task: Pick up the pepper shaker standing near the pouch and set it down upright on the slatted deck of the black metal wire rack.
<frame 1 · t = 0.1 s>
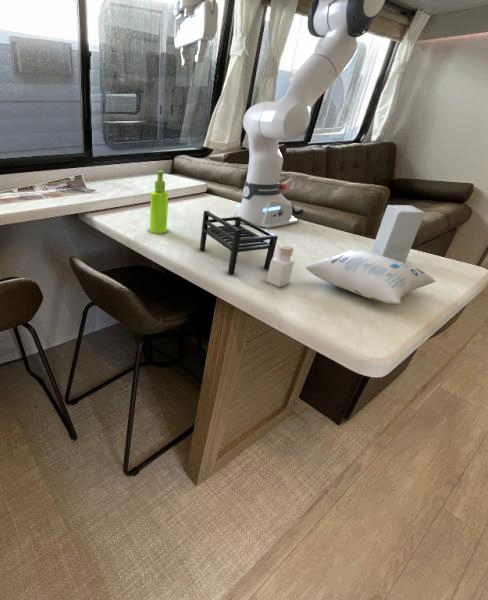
hand: (192, 65, 92), 48 cm above the table, tool pointing down, fingers open, 8 cm apart
pouch: (361, 289, 77), on the table
rack: (232, 259, 93), on the table
cosmetic box: (384, 261, 91), on the table
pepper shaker: (276, 283, 80), on the table
soap dispenser: (158, 230, 115), on the table
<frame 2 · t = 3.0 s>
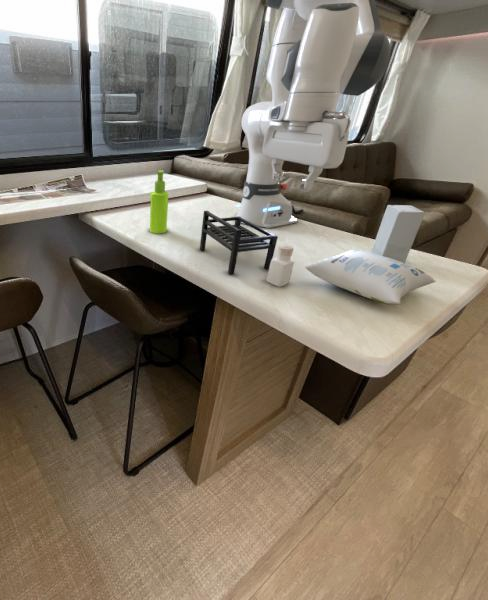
hand: (290, 184, 70), 23 cm above the table, tool pointing down, fingers open, 8 cm apart
nothing on the table moved.
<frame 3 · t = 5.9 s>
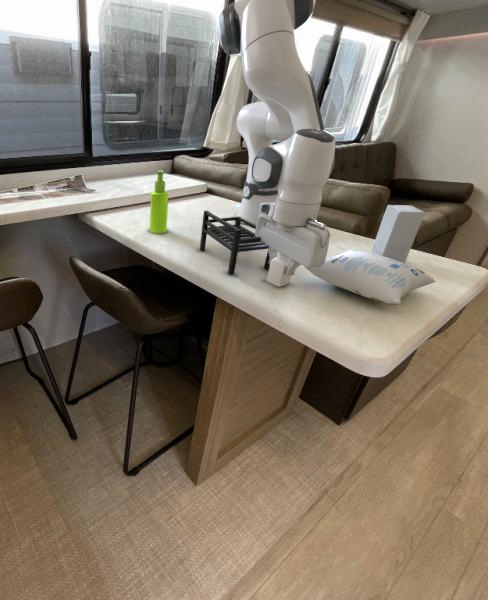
hand: (280, 269, 78), 4 cm above the table, tool pointing down, fingers closed on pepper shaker, 4 cm apart
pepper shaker: (276, 283, 80), on the table, touching gripper
everything else where it was.
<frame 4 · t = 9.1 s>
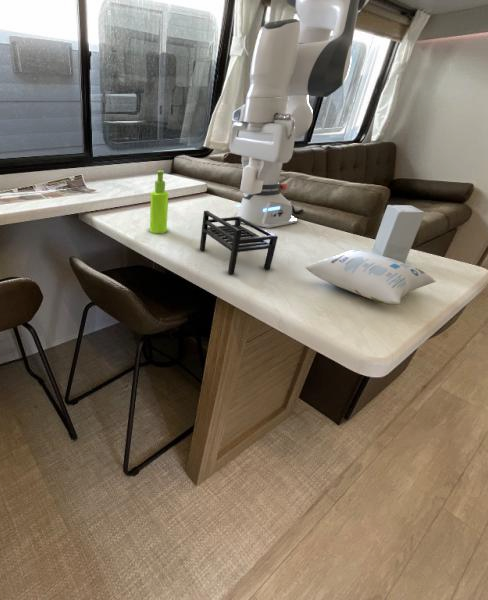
hand: (252, 177, 80), 23 cm above the table, tool pointing down, fingers closed on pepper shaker, 4 cm apart
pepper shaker: (250, 193, 81), point 19 cm above the table, touching gripper
everything else where it was.
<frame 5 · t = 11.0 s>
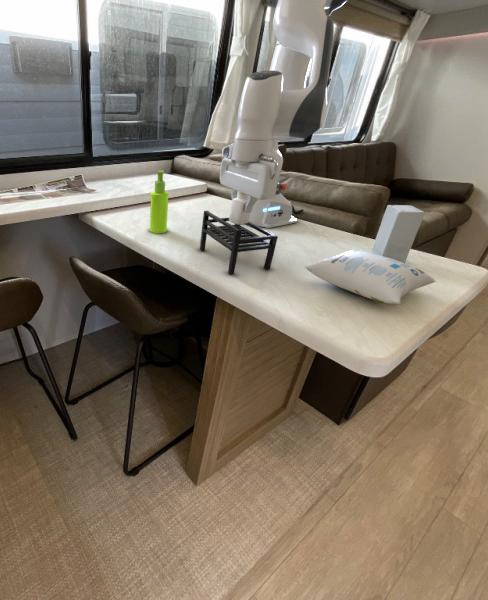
hand: (240, 209, 85), 14 cm above the table, tool pointing down, fingers closed on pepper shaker, 4 cm apart
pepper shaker: (238, 223, 87), point 11 cm above the table, touching gripper
everything else where it was.
when the fingers open (10 cm above the table, at t = 12.5 s): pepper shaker stays where it is, resting on rack.
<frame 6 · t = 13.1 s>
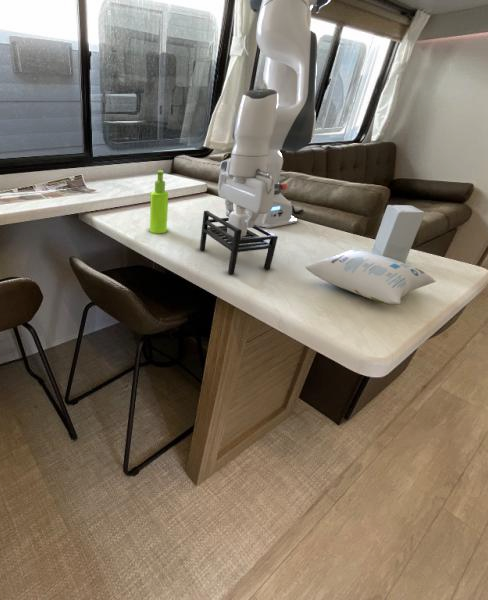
hand: (238, 221, 87), 11 cm above the table, tool pointing down, fingers open, 8 cm apart
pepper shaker: (235, 236, 89), point 7 cm above the table, touching rack
everything else where it was.
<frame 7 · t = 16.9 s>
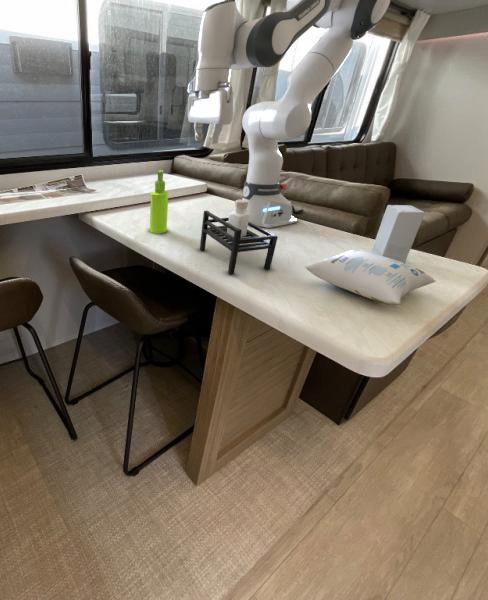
hand: (205, 141, 92), 29 cm above the table, tool pointing down, fingers open, 8 cm apart
nothing on the table moved.
at the end: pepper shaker inside the target area on the rack (0.1 cm from its centre), point 6.8 cm above the rack's base; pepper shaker tilted 0°; the gripper is holding nothing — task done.
